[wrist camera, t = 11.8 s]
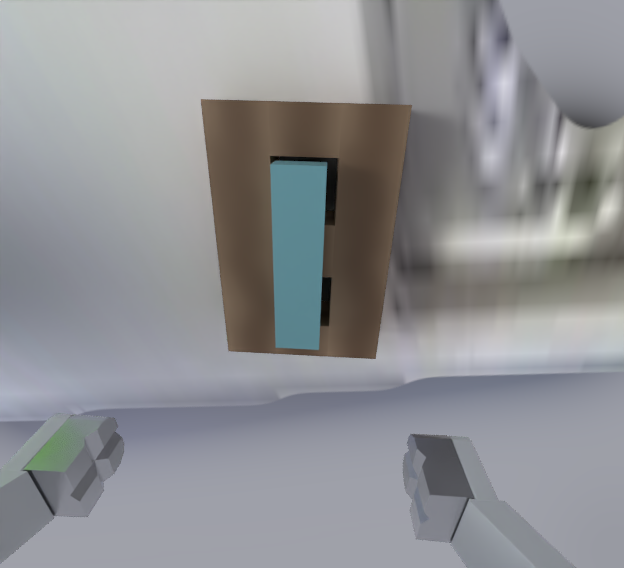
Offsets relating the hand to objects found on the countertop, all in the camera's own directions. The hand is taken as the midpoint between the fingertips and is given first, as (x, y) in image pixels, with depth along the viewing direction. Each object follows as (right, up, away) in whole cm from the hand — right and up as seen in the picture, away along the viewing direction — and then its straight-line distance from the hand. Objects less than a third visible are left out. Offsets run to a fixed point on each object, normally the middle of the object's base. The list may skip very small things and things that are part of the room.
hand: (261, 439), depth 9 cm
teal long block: (+1, +8, +17) cm, 19 cm away
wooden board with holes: (+1, +8, +17) cm, 19 cm away
